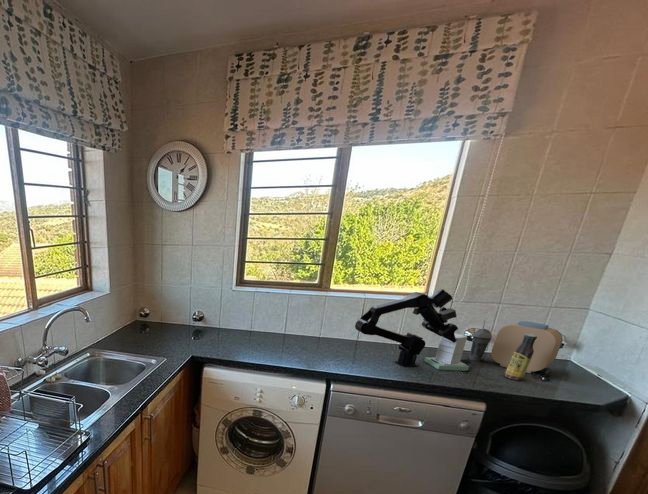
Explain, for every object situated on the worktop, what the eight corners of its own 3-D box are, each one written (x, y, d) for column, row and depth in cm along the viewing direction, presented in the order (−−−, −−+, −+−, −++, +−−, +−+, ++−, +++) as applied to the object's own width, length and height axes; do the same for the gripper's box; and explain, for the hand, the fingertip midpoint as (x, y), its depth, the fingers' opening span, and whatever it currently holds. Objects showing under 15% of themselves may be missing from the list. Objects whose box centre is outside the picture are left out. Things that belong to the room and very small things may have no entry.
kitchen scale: (438, 369, 186) (439, 364, 185) (424, 361, 197) (425, 356, 196) (468, 370, 185) (469, 365, 184) (452, 362, 196) (453, 357, 195)
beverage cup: (487, 362, 196) (500, 322, 189) (470, 361, 197) (483, 321, 190) (479, 357, 203) (491, 318, 195) (462, 356, 204) (474, 318, 197)
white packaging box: (444, 357, 195) (451, 332, 190) (460, 362, 188) (468, 336, 184) (434, 359, 192) (441, 333, 187) (450, 364, 186) (458, 338, 181)
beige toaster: (550, 373, 183) (568, 326, 175) (542, 377, 178) (561, 329, 170) (495, 360, 199) (510, 317, 191) (487, 363, 194) (502, 319, 187)
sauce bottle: (500, 375, 179) (515, 332, 172) (513, 375, 180) (529, 332, 173) (513, 381, 173) (530, 337, 166) (527, 380, 174) (544, 336, 167)
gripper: (459, 307, 172) (479, 332, 175) (435, 299, 189) (453, 322, 192) (435, 324, 176) (454, 349, 179) (413, 314, 193) (431, 337, 196)
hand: (448, 339), depth 186 cm, fingers open, 9 cm apart
